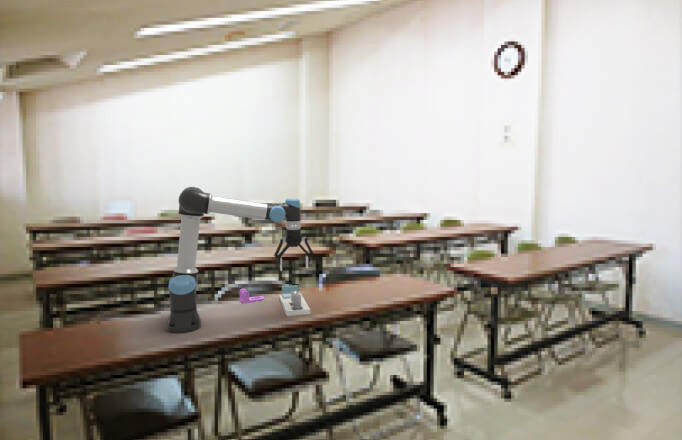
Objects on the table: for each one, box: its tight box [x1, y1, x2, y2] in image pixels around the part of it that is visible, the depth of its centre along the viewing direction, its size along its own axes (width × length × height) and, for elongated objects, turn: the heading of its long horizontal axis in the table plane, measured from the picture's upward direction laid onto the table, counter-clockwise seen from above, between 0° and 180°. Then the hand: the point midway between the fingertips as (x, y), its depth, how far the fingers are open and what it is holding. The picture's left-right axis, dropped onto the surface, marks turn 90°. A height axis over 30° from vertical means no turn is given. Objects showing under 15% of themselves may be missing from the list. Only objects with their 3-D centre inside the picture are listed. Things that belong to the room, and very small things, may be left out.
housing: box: [278, 292, 311, 317], centre depth 249 cm, size 12×30×9 cm, turn 14°
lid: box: [281, 284, 300, 299], centre depth 258 cm, size 9×7×5 cm
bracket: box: [239, 288, 265, 305], centre depth 259 cm, size 13×6×7 cm, turn 116°
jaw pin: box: [291, 291, 300, 306], centre depth 245 cm, size 4×4×9 cm
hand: (294, 269), depth 243 cm, fingers open, 13 cm apart
